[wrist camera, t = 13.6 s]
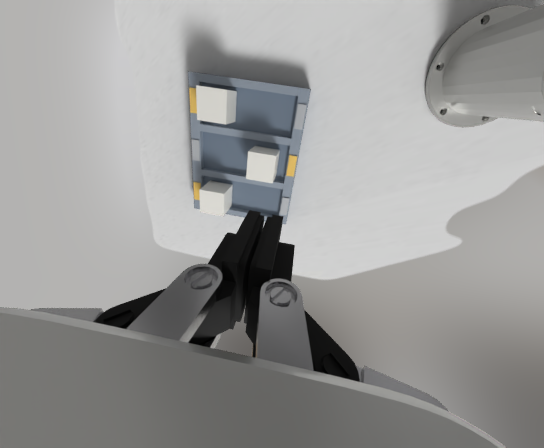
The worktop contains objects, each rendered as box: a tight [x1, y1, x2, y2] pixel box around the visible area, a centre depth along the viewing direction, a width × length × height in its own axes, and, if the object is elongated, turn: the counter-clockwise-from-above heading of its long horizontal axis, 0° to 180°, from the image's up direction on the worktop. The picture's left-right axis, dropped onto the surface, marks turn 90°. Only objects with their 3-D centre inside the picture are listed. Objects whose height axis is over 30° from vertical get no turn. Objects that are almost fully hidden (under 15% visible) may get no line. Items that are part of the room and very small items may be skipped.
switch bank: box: [188, 71, 311, 224], centre depth 37 cm, size 17×21×3 cm
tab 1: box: [196, 85, 237, 124], centre depth 31 cm, size 4×4×4 cm
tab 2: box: [199, 181, 233, 217], centre depth 38 cm, size 4×4×4 cm
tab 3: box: [246, 146, 280, 184], centre depth 34 cm, size 4×4×4 cm
